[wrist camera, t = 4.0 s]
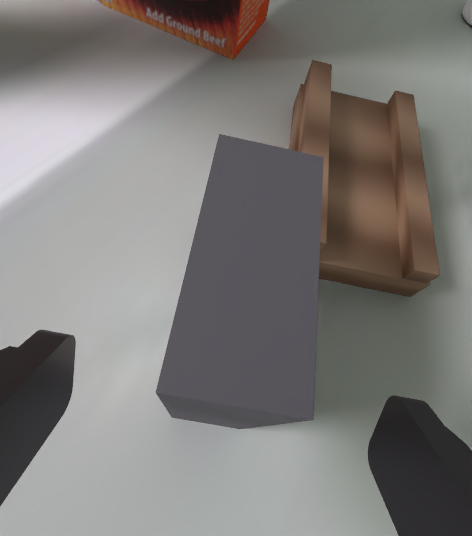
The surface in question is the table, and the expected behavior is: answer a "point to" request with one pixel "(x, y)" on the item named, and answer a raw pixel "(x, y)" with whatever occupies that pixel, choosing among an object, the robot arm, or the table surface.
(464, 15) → the drinking glass
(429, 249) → the wooden channel tray
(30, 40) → the table surface
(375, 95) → the table surface
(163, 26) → the pasta box
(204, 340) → the dark grey block
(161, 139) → the table surface
